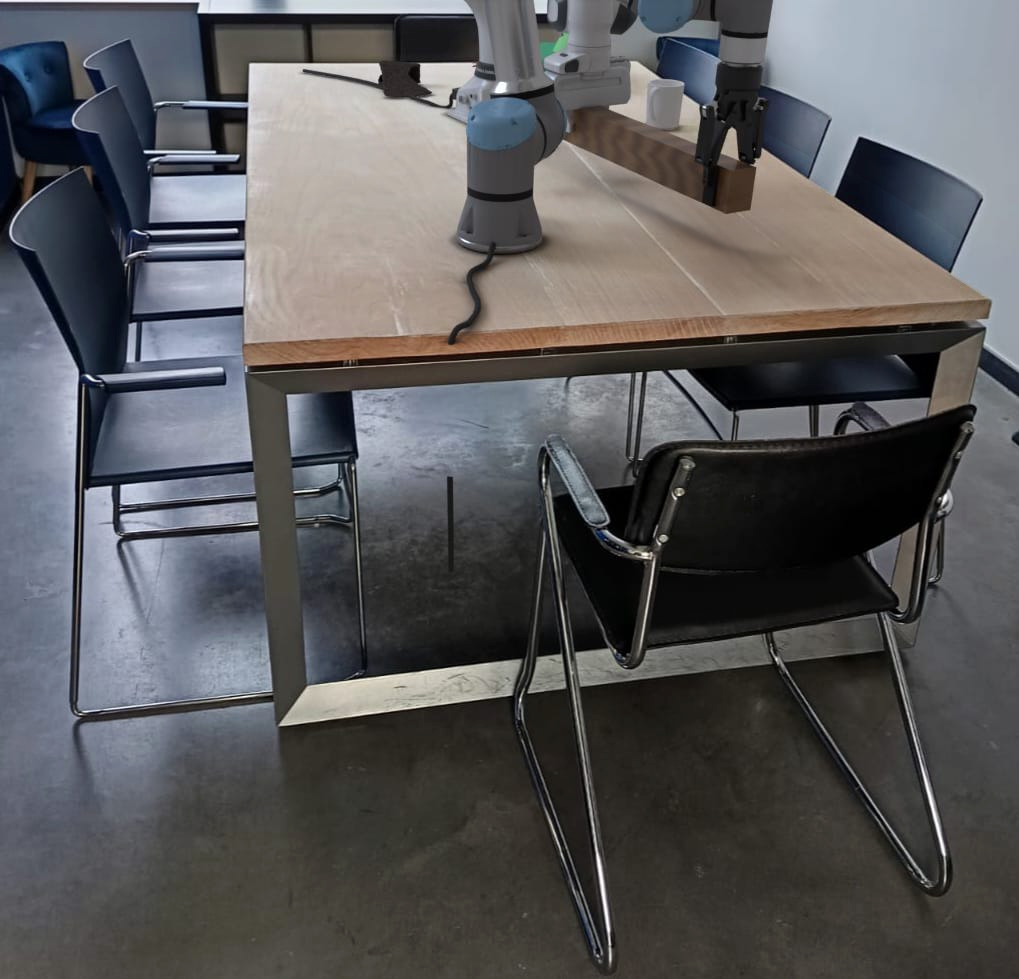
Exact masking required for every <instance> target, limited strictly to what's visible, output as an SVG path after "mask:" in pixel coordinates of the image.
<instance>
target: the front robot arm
mask: <svg viewBox="0 0 1019 979" xmlns="http://www.w3.org/2000/svg"><path fill="white" fill-rule="evenodd" d="M616 1H618V2H619V3H621V4H622V5H624V6H625V7H627V8H628V9H630V10H631V11H633V12H634V13H635V14H637V15H638V17H639V20H640V22H641V24H642V25H643V26H644V27H645V28H646V29H647V30H648V31H650V32H652V33H654V34H661V35H662V34H669V33H674V32H676V31H679V30H680V29H682V28H683V27H684V26H685V25H686V24H688V23H689V22H691V21H704V22H705V21H706V22H719V23H721V31H720V39H719V46H718V47H719V49H718V55H717V56H718V60H719V61H720V62H718V63H717V65H716V72H715V80H714V85H715V87H716V92H715V95H714V97H713V100H712V101H710V102H708V103H704V102H701V103H700V104H699V106H698V110H699V126H698V131H697V132H698V133H697V140H696V144H697V145H696V152H695V159H694V161H695V163H698V164H700V165H702V166H703V175H702V185H703V186H704V189H703V197H702V203H701V204H703V205H705V204H706V205H705V206H707V205H708V207H709V206H710V208H711V207H715V202H716V195H717V187H718V179H719V171H720V169H719V168H716V166H717V163H718V160H719V157H720V154H722V151H723V148H724V144H725V142H726V139H727V136H728V133H729V130H731V129H732V127H733V124H734V125H735V134H736V145H737V146H736V147H737V158H738V159H737V160H739V161H742V162H744V163H747V164H749V165H752V166H754V165H755V164H756V161H757V160H759V159H760V158H761V157H762V153H763V152H762V151H763V143H764V134H765V125H766V117H767V114H768V110H769V107H770V105H771V101H770V100H769V99H766V98H763V97H760V96H759V94H758V90H759V89H760V88H761V86H762V81H763V80H762V79H763V74H764V67H763V65H762V64H763V63H764V62H765V61H766V60H765V58H766V51H767V43H768V37H769V36H768V35H769V29H770V23H771V17H772V10H773V4H774V0H616ZM484 6H485V12H486V19H487V25H488V31H489V37H490V44H491V50H492V56H493V62H494V69H495V75H496V81H495V83H494V85H493V87H492V88H491V90H490V98H491V100H484V101H481V102H479V103H477V104H476V105H474V106H473V107H472V108H471V109H470V111H469V113H468V119H467V123H466V128H465V135H466V192H467V193H466V198H465V202H464V205H463V209H462V211H461V214H460V218H459V220H458V224H457V228H456V241H457V243H458V244H459V245H461V246H462V247H464V248H466V249H468V250H470V251H475V252H479V253H486V254H487V255H486V258H485V259H484V260H483V261H482V262H481V263H479V264H477V265H475V266H473V267H471V268H469V270H468V272H467V274H466V276H465V277H466V278H465V279H466V285H467V287H468V290H469V294H470V295H471V297H472V299H473V302H474V307H473V308H474V309H473V311H472V313H471V314H470V316H469V317H468V318H467V319H466V320H465V321H463V322H460V323H457V324H456V325H455V326H454V327H453V328H452V330H451V332H450V334H449V335H448V340H447V345H449V346H453V345H455V343H456V339H457V336H458V334H459V333H460V332H461V331H462V330H464V329H468V328H470V327H471V326H472V325H473V324H474V322H475V321H476V320H477V318H478V317H479V315H480V312H481V309H482V300H481V298H480V295H479V294H478V292H477V289H476V287H475V283H474V281H473V277H474V275H475V274H476V273H477V272H479V271H482V270H484V269H485V268H487V267H488V266H489V265H490V264H491V263H492V260H493V258H494V254H497V255H499V254H500V255H506V254H507V255H508V254H517V253H524V252H527V251H530V250H533V249H536V248H538V247H539V246H540V245H541V244H542V243H543V229H542V224H541V221H540V220H541V219H540V218H539V214H538V213H539V212H538V210H537V206H536V204H535V199H534V184H535V181H534V180H535V166H536V165H538V164H539V163H541V162H542V161H543V160H545V159H548V158H549V157H550V156H551V155H552V154H554V153H555V152H556V150H557V149H558V148H559V146H560V145H561V144H562V142H563V141H564V140H563V138H564V136H565V133H566V128H567V117H566V112H565V109H564V107H563V105H562V103H561V102H560V100H558V99H557V97H556V95H555V88H554V81H553V79H551V78H550V77H549V76H548V75H546V74H545V72H544V71H543V63H542V56H541V49H540V42H541V41H540V36H539V28H538V22H537V20H538V19H537V13H536V8H535V7H536V6H535V0H484ZM710 159H711V160H710ZM446 504H447V505H446V506H447V509H446V510H447V571H448V572H449V573H454V572H455V524H454V522H455V520H454V519H455V518H454V517H455V516H454V515H455V514H454V511H455V510H454V476H449V475H446Z"/></svg>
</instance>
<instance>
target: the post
mask: <svg viewBox="0 0 1019 979" xmlns="http://www.w3.org/2000/svg"><path fill="white" fill-rule="evenodd" d="M570 118H571V121H572V122H573V123H576V127H575V132H566V133H565V136H564V138H563V140H562V141H564V142H567V143H568V144H571V145H573V146H576V147H577V148H580V149H582V150H584V151H586V152H589V153H591V154H593V155H594V156H598V157H599V158H602V159H604V160H606V161H608V162H611V163H613V164H615V165H617V166H619V167H622V168H624V169H625V170H628V171H630V172H632V173H635V174H637V175H639V176H641V177H643V178H646V179H647V180H650V181H652V182H655V183H656V184H659V185H661V186H663V187H665V188H668V189H670V190H672V191H674V192H677V193H679V194H681V195H683V196H686V197H687V198H690V199H692V200H694V201H696V202H697V203H698V202H699V203H701V204H703V203H702V197H703V189H704V186H703V185H702V175H703V166H702V165H700V164H698V163H695V161H694V159H695V152H696V145H697V142H696V143H695V142H693V141H691V140H688V139H686V138H683V137H680V136H677V135H676V134H673V133H670V132H668V131H666V130H660V129H657V128H655V127H652V126H650V125H647V124H646V122H645V123H644V122H642V121H639V120H637V119H635V118H632V117H629V116H627V115H624V114H622V113H619V112H616V111H614V110H611V109H610V108H609V109H606V108H604V107H601V106H599V107H590V108H581V109H576V110H572V115H570ZM710 160H711V159H710ZM716 168H719V169H720V171H719V179H718V187H717V195H716V202H715V207H710V206H708V205H706V204H704V205H705V206H708V207H710V208H712V209H713V210H716V211H718V212H721V213H722V214H725V215H728V214H729V215H730V214H735V213H741V212H742V213H743V212H747V211H751V209H752V201H753V195H754V188H755V181H756V175H757V166H755V165H751V164H750V165H749V164H747V163H744V162H742V161H740V160H739V159H736V158H735V157H732V156H728V155H726V154H724V153H721V154H720V157H719V160H718V163H717V166H716Z"/></svg>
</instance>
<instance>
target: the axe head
mask: <svg viewBox="0 0 1019 979" xmlns="http://www.w3.org/2000/svg"><path fill="white" fill-rule="evenodd" d="M378 66H379V68H380V72H381V74H379V75H378V79H377V83H378V84H381V86H382V88H383V89H382V88H381V89H382V90H383V95H384V96H385V97H388V98H394V99H395V98H396V99H403V98H405V99H406V98H407V99H409V98H408V97H407V96H406V94H405V93H408V94H411V95H413V96H416V97H418V98H420V97H425V96H429V95H432V94H433V91H431V90H430V89H428V88H427V87H425V86H422V85H421V84H422V82H421V63H419V62H410V61H408V62H407V61H397V60H388V59H387V60H380V61H379V62H378Z"/></svg>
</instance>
